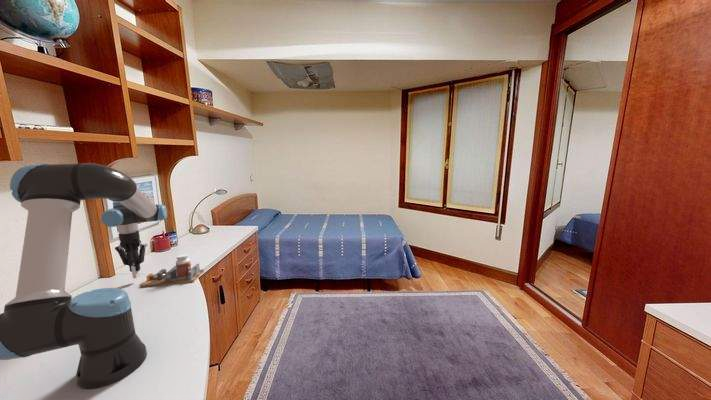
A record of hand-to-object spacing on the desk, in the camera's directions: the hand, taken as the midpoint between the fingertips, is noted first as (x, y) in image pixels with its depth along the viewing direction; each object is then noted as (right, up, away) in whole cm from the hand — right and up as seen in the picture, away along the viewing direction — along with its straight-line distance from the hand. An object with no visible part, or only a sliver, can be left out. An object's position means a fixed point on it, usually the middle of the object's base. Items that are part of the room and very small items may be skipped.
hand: (136, 277), depth 129 cm
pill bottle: (+22, -1, +4) cm, 22 cm away
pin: (+9, -1, +2) cm, 9 cm away
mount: (+16, -2, +3) cm, 17 cm away
